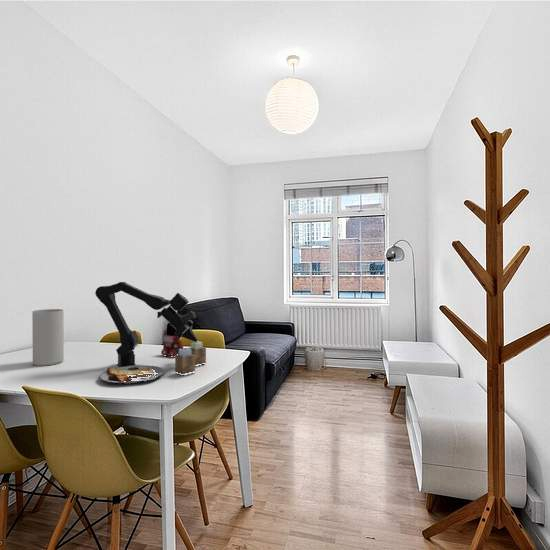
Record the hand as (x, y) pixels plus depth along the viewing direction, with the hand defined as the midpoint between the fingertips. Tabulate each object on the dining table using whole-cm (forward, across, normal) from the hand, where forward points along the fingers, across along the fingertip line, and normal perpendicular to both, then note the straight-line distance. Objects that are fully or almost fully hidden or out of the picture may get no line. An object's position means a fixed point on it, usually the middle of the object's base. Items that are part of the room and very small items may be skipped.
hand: (196, 341), depth 169 cm
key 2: (+4, -14, +8) cm, 17 cm away
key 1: (+6, 0, +6) cm, 9 cm away
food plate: (-8, -19, +25) cm, 32 cm away
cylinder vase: (-42, +5, +58) cm, 72 cm away
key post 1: (+8, 0, +8) cm, 11 cm away
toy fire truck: (-3, +18, +19) cm, 26 cm away
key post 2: (+6, -14, +10) cm, 18 cm away
